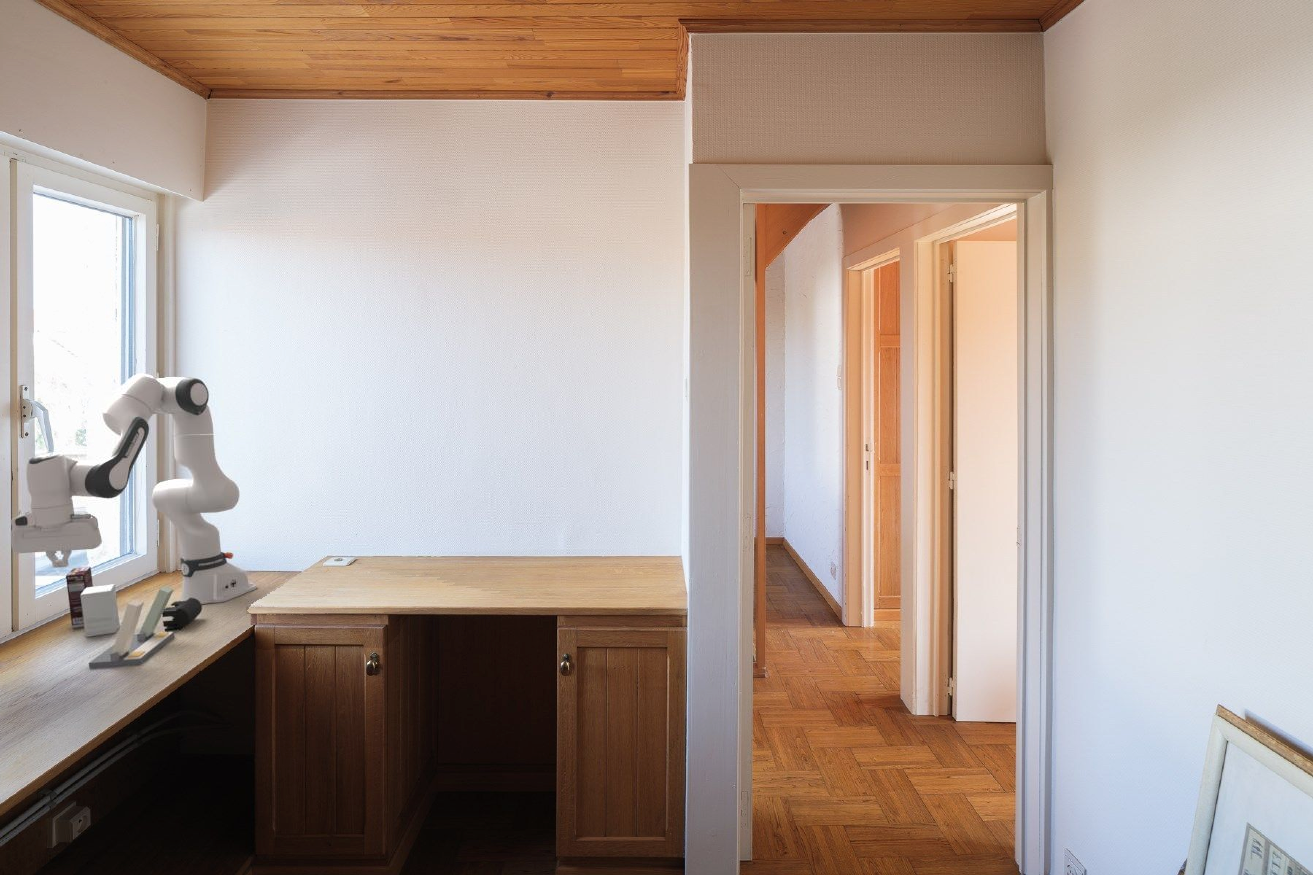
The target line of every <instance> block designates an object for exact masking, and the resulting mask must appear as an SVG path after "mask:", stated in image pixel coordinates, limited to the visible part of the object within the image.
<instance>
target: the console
mask: <svg viewBox="0 0 1313 875" xmlns="http://www.w3.org/2000/svg"><path fill="white" fill-rule="evenodd" d="M174 638H175V631H165V632H155V631H154V632H153V633H152V634H151V635H149V636H148V637H147V636H146V637H145V633H139V632H138V633H136V634H135V633H134V635H133V638H132V641H131V645H130V648H129V651H127V652H126V653H125V654H123V655H122V656H119V653H118V652H113V649H114V646H115V643H114V644H113V645H112V646H110V647H109V648H107V649H106V650H105V651H103V652H102V653H101V654H99V655H98V656H96V657H95V658H93V659H92V660H90V661H89V662H88V669H91V670H92V669H101V668H102V669H104V668H116V667H117V668H118V667H119V668H120V667H132V666H140V665H142V664H144V662H146V661H147V660H149V658H151V657H152V656H153V655H154V654H155V653H157V652H158V651H159V650H161V649H162V648H163V647H165V645H166V644H168V643H169V642H171V640H173V639H174ZM112 652H113V653H112Z"/></svg>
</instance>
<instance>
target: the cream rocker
mask: <svg viewBox="0 0 1313 875" xmlns="http://www.w3.org/2000/svg"><path fill="white" fill-rule="evenodd" d="M144 604H145V602H144V601H141V600H137V599H132V601H130V602H129V603H127V605H126V609H125V612H124V615H123V618H122V621H121V623H120V624H121V625H120V626H119V627H120V628H119V630H118V634H117V637H116V639H115V643H114V644H115V646H114V649H113V652H118V653H119V656H122V655H123V654H125V653H126V652H127V651H129V648H130V645H131V641H132V638H133V635H134V634H135V633H136V629H137V626H138V622H139V619H140V617H141V614H142V611H143V610H142V609H143V607H144ZM113 652H112V653H113Z"/></svg>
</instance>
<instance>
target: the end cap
mask: <svg viewBox="0 0 1313 875" xmlns="http://www.w3.org/2000/svg"><path fill="white" fill-rule="evenodd" d="M202 609H203V604H201V603H200V601H198V600H197V599H195V598H189V599H188V600H187V601H180V600H179V601H178V600H177V601H176V600H175V601H173V602H172V603H171V604H170V606H169V607H165V609H164V611H163V613H162V615H161V617H162V618H169V617H170V618H171V617H172V618H171V620H170V619H169V620H162V624H163V627H165V628H164V631H165V632H175V631H176V632H178V631H181V630H183V629H184V628H186V626H188V625H189V624H191V623H192V622H193V621H194V620H195V619H196V618H197V617H198V616H200V615H201V613H202V611H203V610H202Z"/></svg>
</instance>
